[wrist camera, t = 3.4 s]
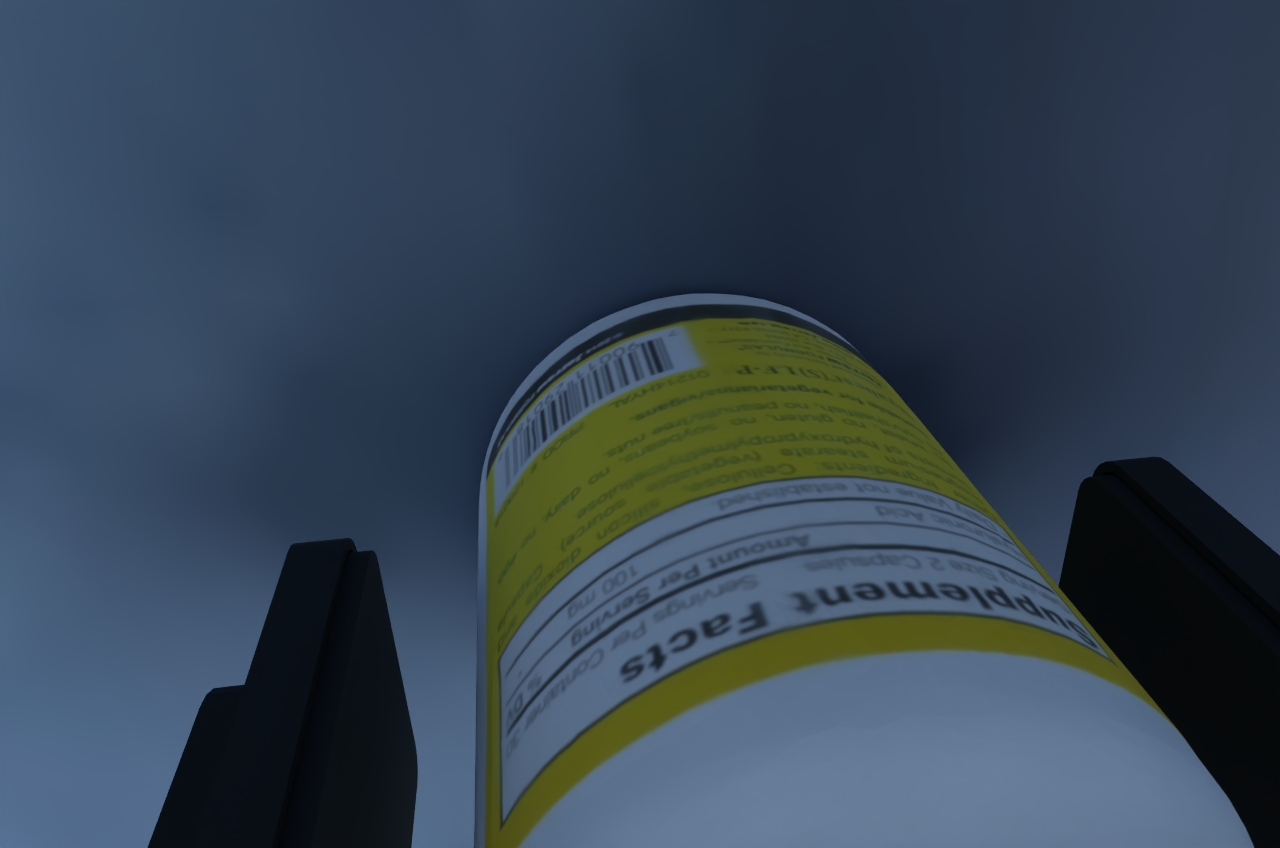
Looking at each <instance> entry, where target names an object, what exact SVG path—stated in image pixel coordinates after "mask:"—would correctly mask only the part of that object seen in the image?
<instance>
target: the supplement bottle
mask: <svg viewBox="0 0 1280 848" xmlns="http://www.w3.org/2000/svg"><path fill="white" fill-rule="evenodd" d="M474 848H1254V846H1253V843H1252V841H1251V839H1250V837H1249V834H1248V832H1247V830H1246V828H1245V826H1244V824H1243V823H1242V821H1241V819H1240V817H1239V816H1238V814H1237V812H1236V810H1235V808H1234V807H1233V805H1232V803H1231V802H1230V800H1229V798H1228V797H1227V795H1226V794H1225V793H1224V791H1223V790H1222V789H1221V787H1220V786H1219V785H1218V784H1217V782H1216V781H1215V780H1214V778H1213V777H1212V776H1211V774H1210V773H1209V772H1208V770H1207V769H1206V768H1205V766H1204V765H1203V764H1202V762H1201V761H1200V760H1199V758H1198V757H1197V756H1196V754H1195V753H1194V751H1193V750H1192V748H1191V747H1190V746H1189V744H1188V743H1187V741H1186V740H1185V738H1184V737H1183V736H1182V734H1181V733H1180V732H1179V731H1178V729H1177V728H1176V727H1175V726H1174V724H1173V723H1172V722H1171V721H1170V720H1169V719H1168V717H1167V716H1166V715H1165V714H1164V713H1163V711H1162V710H1161V709H1160V708H1159V707H1158V705H1157V704H1156V703H1155V702H1154V701H1153V699H1152V698H1151V697H1150V696H1149V695H1148V693H1147V692H1146V691H1145V690H1144V689H1143V687H1142V686H1141V685H1140V684H1139V683H1138V681H1137V680H1136V679H1135V678H1134V677H1133V675H1132V674H1131V673H1130V672H1129V671H1128V669H1127V668H1126V667H1125V666H1124V665H1123V663H1122V662H1121V661H1120V660H1119V659H1118V658H1117V656H1116V655H1115V654H1114V653H1113V652H1112V650H1111V649H1110V648H1109V647H1108V646H1107V644H1106V643H1105V642H1104V641H1103V640H1102V638H1101V637H1100V636H1099V635H1098V634H1097V632H1096V631H1095V630H1094V629H1093V628H1092V627H1091V625H1090V624H1089V623H1088V622H1087V621H1086V619H1085V618H1084V617H1083V616H1082V615H1081V613H1080V612H1079V611H1078V610H1077V609H1076V607H1075V606H1074V605H1073V604H1072V603H1071V601H1070V600H1069V599H1068V598H1067V597H1066V595H1065V594H1064V593H1063V592H1062V591H1061V589H1060V588H1059V587H1058V586H1057V585H1056V583H1055V582H1054V581H1053V580H1052V579H1051V578H1050V576H1049V575H1048V574H1047V573H1046V572H1045V570H1044V569H1043V568H1042V567H1041V566H1040V564H1039V563H1038V562H1037V561H1036V560H1035V558H1034V557H1033V556H1032V555H1031V554H1030V552H1029V551H1028V550H1027V549H1026V548H1025V547H1024V545H1023V544H1022V543H1021V542H1020V541H1019V540H1018V538H1017V537H1016V536H1015V535H1014V534H1013V532H1012V531H1011V530H1010V529H1009V527H1008V526H1007V525H1006V524H1005V522H1004V521H1003V520H1002V518H1001V517H1000V516H999V515H998V514H997V512H996V511H995V510H994V509H993V508H992V507H991V505H990V504H989V503H988V502H987V501H986V500H985V499H984V497H983V496H982V495H981V494H980V493H979V491H978V490H977V489H976V488H975V486H974V485H973V484H972V483H971V482H970V480H969V479H968V478H967V477H966V475H965V474H964V473H963V472H962V471H961V469H960V468H959V467H958V466H957V465H956V463H955V462H954V461H953V460H952V459H951V457H950V456H949V455H948V454H947V452H946V451H945V450H944V449H943V448H942V446H941V445H940V444H939V443H938V442H937V440H936V439H935V438H934V437H933V436H932V434H931V433H930V432H929V431H928V430H927V428H926V427H925V426H924V425H923V423H922V422H921V421H920V420H919V419H918V417H917V416H916V415H915V414H914V413H913V412H912V411H911V409H910V408H909V407H908V406H907V405H906V404H905V402H904V401H903V400H902V399H901V397H900V396H899V395H898V394H897V393H896V392H895V390H894V389H893V388H892V387H891V386H890V385H889V384H888V383H887V381H886V380H885V379H884V378H883V377H882V376H881V375H880V374H879V373H878V371H877V370H876V369H875V368H874V367H873V366H872V365H871V364H870V362H869V361H868V360H867V359H866V358H865V357H864V356H862V355H861V354H860V353H859V352H858V351H857V350H856V349H855V348H854V347H853V346H852V345H851V344H850V343H849V342H848V341H846V340H845V339H844V338H843V337H841V336H840V335H839V334H838V333H836V332H835V331H833V330H832V329H830V328H829V327H827V326H825V325H824V324H822V323H820V322H818V321H817V320H815V319H813V318H812V317H809V316H807V315H805V314H803V313H801V312H798V311H796V310H794V309H792V308H790V307H786V306H783V305H780V304H777V303H774V302H771V301H767V300H764V299H758V298H753V297H747V296H740V295H731V294H685V295H677V296H670V297H665V298H660V299H655V300H651V301H648V302H644V303H641V304H638V305H635V306H632V307H629V308H626V309H623V310H621V311H618V312H616V313H613V314H611V315H608V316H606V317H604V318H602V319H600V320H598V321H596V322H594V323H592V324H590V325H589V326H587V327H586V328H584V329H583V330H581V331H579V332H578V333H576V334H575V335H573V336H572V337H570V338H569V339H567V340H566V341H565V342H564V343H562V344H561V345H560V346H559V347H557V348H556V349H555V350H553V351H552V352H551V353H550V354H549V355H548V356H547V357H546V358H545V359H544V360H543V361H542V362H541V363H539V364H538V365H537V366H536V367H535V368H534V369H533V370H532V372H531V373H530V374H529V375H528V376H527V378H526V379H525V380H524V381H523V382H522V384H521V385H520V386H519V388H518V389H517V390H516V392H515V393H514V395H513V396H512V397H511V399H510V401H509V403H508V404H507V406H506V408H505V409H504V411H503V413H502V415H501V417H500V419H499V421H498V423H497V425H496V428H495V430H494V432H493V435H492V438H491V441H490V444H489V447H488V450H487V453H486V458H485V462H484V466H483V471H482V477H481V484H480V496H479V532H478V611H477V685H476V761H475V832H474Z"/></svg>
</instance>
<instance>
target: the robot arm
mask: <svg viewBox="0 0 1280 848" xmlns="http://www.w3.org/2000/svg"><path fill="white" fill-rule="evenodd" d="M1059 588H1060V589H1061V591H1062V592H1063V593H1064V594H1065V595H1066V597H1067V598H1068V599H1069V600H1070V601H1071V603H1072V604H1073V605H1074V606H1075V607H1076V609H1077V610H1078V611H1079V612H1080V613H1081V615H1082V616H1083V617H1084V618H1085V619H1086V621H1087V622H1088V623H1089V624H1090V625H1091V627H1092V628H1093V629H1094V630H1095V631H1096V632H1097V634H1098V635H1099V636H1100V637H1101V638H1102V640H1103V641H1104V642H1105V643H1106V644H1107V646H1108V647H1109V648H1110V649H1111V650H1112V652H1113V653H1114V654H1115V655H1116V656H1117V658H1118V659H1119V660H1120V661H1121V662H1122V663H1123V665H1124V666H1125V667H1126V668H1127V669H1128V671H1129V672H1130V673H1131V674H1132V675H1133V677H1134V678H1135V679H1136V680H1137V681H1138V683H1139V684H1140V685H1141V686H1142V687H1143V689H1144V690H1145V691H1146V692H1147V693H1148V695H1149V696H1150V697H1151V698H1152V699H1153V701H1154V702H1155V703H1156V704H1157V705H1158V707H1159V708H1160V709H1161V710H1162V711H1163V713H1164V714H1165V715H1166V716H1167V717H1168V719H1169V720H1170V721H1171V722H1172V723H1173V724H1174V726H1175V727H1176V728H1177V729H1178V731H1179V732H1180V733H1181V734H1182V736H1183V737H1184V738H1185V740H1186V741H1187V743H1188V744H1189V746H1190V747H1191V748H1192V750H1193V751H1194V753H1195V754H1196V756H1197V757H1198V758H1199V760H1200V761H1201V762H1202V764H1203V765H1204V766H1205V768H1206V769H1207V770H1208V772H1209V773H1210V774H1211V776H1212V777H1213V778H1214V780H1215V781H1216V782H1217V784H1218V785H1219V786H1220V787H1221V789H1222V790H1223V791H1224V793H1225V794H1226V795H1227V797H1228V798H1229V800H1230V802H1231V803H1232V805H1233V807H1234V808H1235V810H1236V812H1237V814H1238V816H1239V817H1240V819H1241V821H1242V823H1243V824H1244V826H1245V828H1246V830H1247V832H1248V834H1249V837H1250V839H1251V841H1252V843H1253V846H1254V848H1280V556H1279V555H1278V554H1277V553H1276V552H1275V551H1273V550H1272V549H1271V548H1270V547H1269V546H1268V545H1266V544H1265V543H1264V542H1263V541H1262V540H1260V539H1259V538H1258V537H1257V536H1256V535H1255V534H1253V533H1252V532H1251V531H1250V530H1249V529H1247V528H1246V527H1245V526H1244V525H1243V524H1241V523H1240V522H1239V521H1238V520H1237V519H1236V518H1234V517H1233V516H1232V515H1231V514H1230V513H1228V512H1227V511H1226V510H1225V509H1224V508H1223V507H1221V506H1220V505H1219V504H1218V503H1217V502H1215V501H1214V500H1213V499H1212V498H1211V497H1210V496H1208V495H1207V494H1206V493H1205V492H1204V491H1202V490H1201V489H1200V488H1199V487H1198V486H1196V485H1195V484H1194V483H1193V482H1192V481H1191V480H1189V479H1188V478H1187V477H1186V476H1185V475H1183V474H1182V473H1181V472H1180V471H1179V470H1178V469H1176V468H1175V467H1174V466H1173V465H1172V464H1170V463H1169V462H1168V461H1166V460H1164V459H1163V458H1160V457H1147V458H1137V459H1127V460H1117V461H1107V462H1104V463H1102V464H1100V465H1099V466H1098V467H1097V468H1096V470H1095V471H1094V474H1093V476H1092V477H1088V478H1086V479H1084V480H1083V482H1082V483H1081V485H1080V488H1079V491H1078V495H1077V500H1076V505H1075V510H1074V514H1073V519H1072V524H1071V529H1070V534H1069V539H1068V543H1067V548H1066V553H1065V558H1064V563H1063V568H1062V572H1061V577H1060V582H1059ZM417 778H418V768H417V753H416V746H415V740H414V735H413V730H412V726H411V721H410V716H409V711H408V706H407V701H406V696H405V691H404V686H403V681H402V677H401V672H400V667H399V662H398V657H397V652H396V647H395V642H394V637H393V632H392V628H391V623H390V618H389V613H388V608H387V603H386V598H385V593H384V588H383V583H382V579H381V574H380V569H379V564H378V560H377V556H376V554H375V552H374V551H373V550H372V551H362V552H357V550H356V546H355V544H354V542H353V540H352V539H350V538H345V539H335V540H325V541H316V542H306V543H296V544H293V545H291V547H290V549H289V551H288V553H287V556H286V559H285V562H284V565H283V568H282V571H281V574H280V578H279V581H278V584H277V587H276V590H275V593H274V596H273V599H272V602H271V605H270V608H269V611H268V614H267V617H266V620H265V623H264V627H263V630H262V633H261V636H260V639H259V642H258V645H257V648H256V651H255V654H254V657H253V660H252V663H251V666H250V669H249V672H248V675H247V679H246V682H245V685H239V686H230V687H221V688H214V689H212V690H211V691H210V692H209V693H208V694H207V695H206V696H205V698H204V700H203V702H202V704H201V706H200V708H199V711H198V714H197V716H196V719H195V722H194V725H193V727H192V730H191V733H190V735H189V738H188V741H187V743H186V746H185V749H184V751H183V754H182V757H181V759H180V762H179V765H178V767H177V770H176V773H175V776H174V778H173V781H172V784H171V786H170V789H169V792H168V794H167V797H166V800H165V802H164V805H163V808H162V810H161V813H160V816H159V818H158V821H157V824H156V826H155V829H154V832H153V835H152V837H151V840H150V843H149V845H148V848H411V844H412V833H413V823H414V812H415V802H416V791H417Z"/></svg>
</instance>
